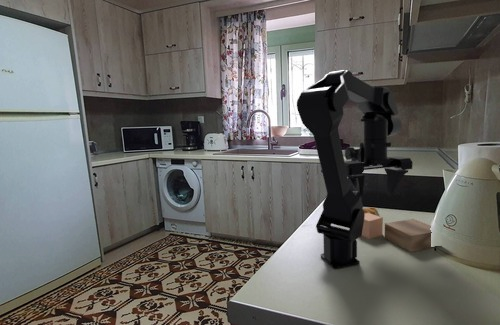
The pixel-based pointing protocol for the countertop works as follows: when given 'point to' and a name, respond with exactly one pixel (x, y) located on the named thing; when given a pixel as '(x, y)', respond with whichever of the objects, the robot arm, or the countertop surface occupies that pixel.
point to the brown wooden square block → (409, 234)
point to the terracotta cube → (372, 226)
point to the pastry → (371, 211)
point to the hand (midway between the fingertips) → (374, 197)
